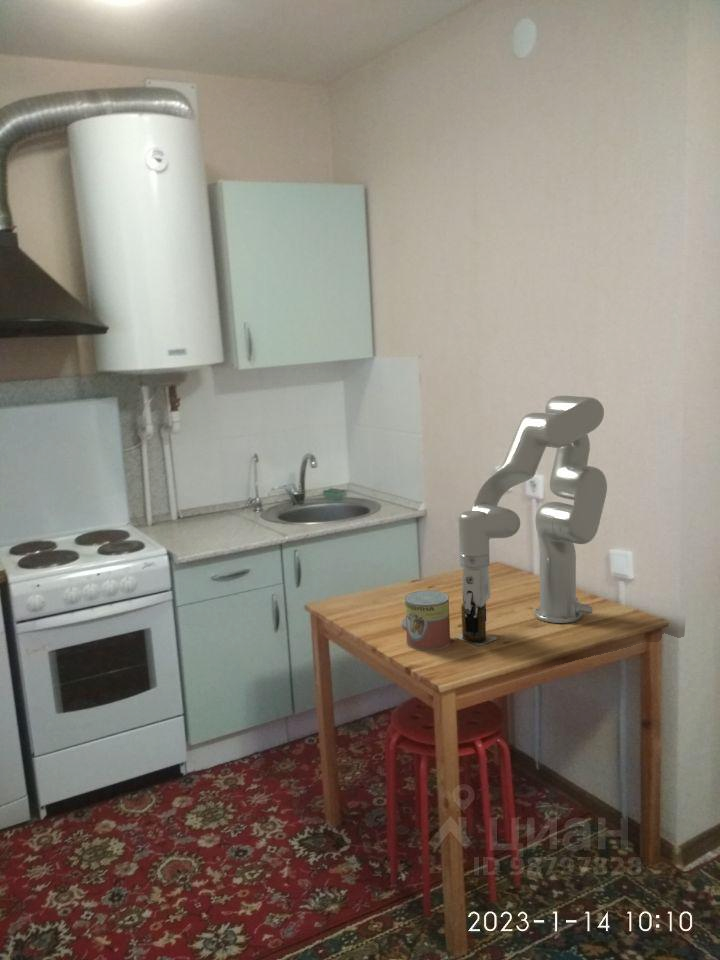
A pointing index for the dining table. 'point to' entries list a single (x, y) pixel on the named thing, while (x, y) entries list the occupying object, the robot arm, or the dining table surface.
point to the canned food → (427, 620)
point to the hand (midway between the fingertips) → (476, 626)
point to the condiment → (481, 636)
